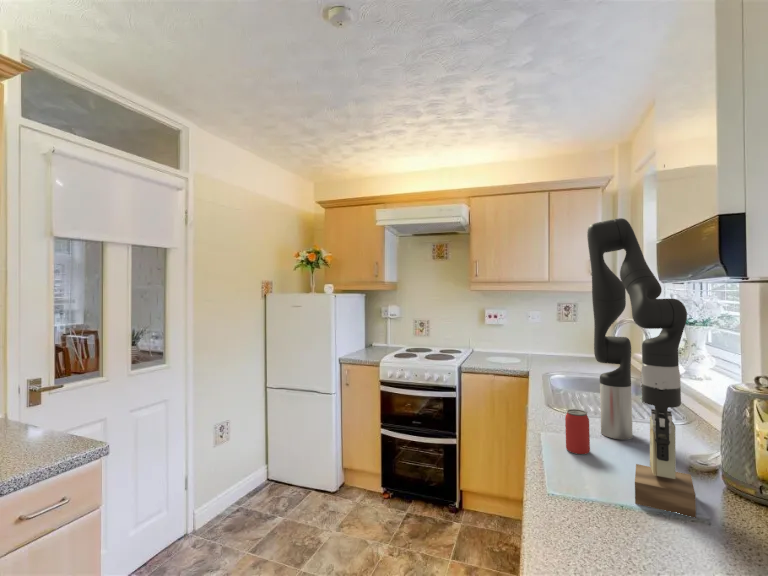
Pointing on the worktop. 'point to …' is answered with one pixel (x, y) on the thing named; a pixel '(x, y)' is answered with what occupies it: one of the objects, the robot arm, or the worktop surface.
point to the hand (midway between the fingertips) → (662, 454)
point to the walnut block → (665, 491)
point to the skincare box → (656, 465)
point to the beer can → (577, 432)
